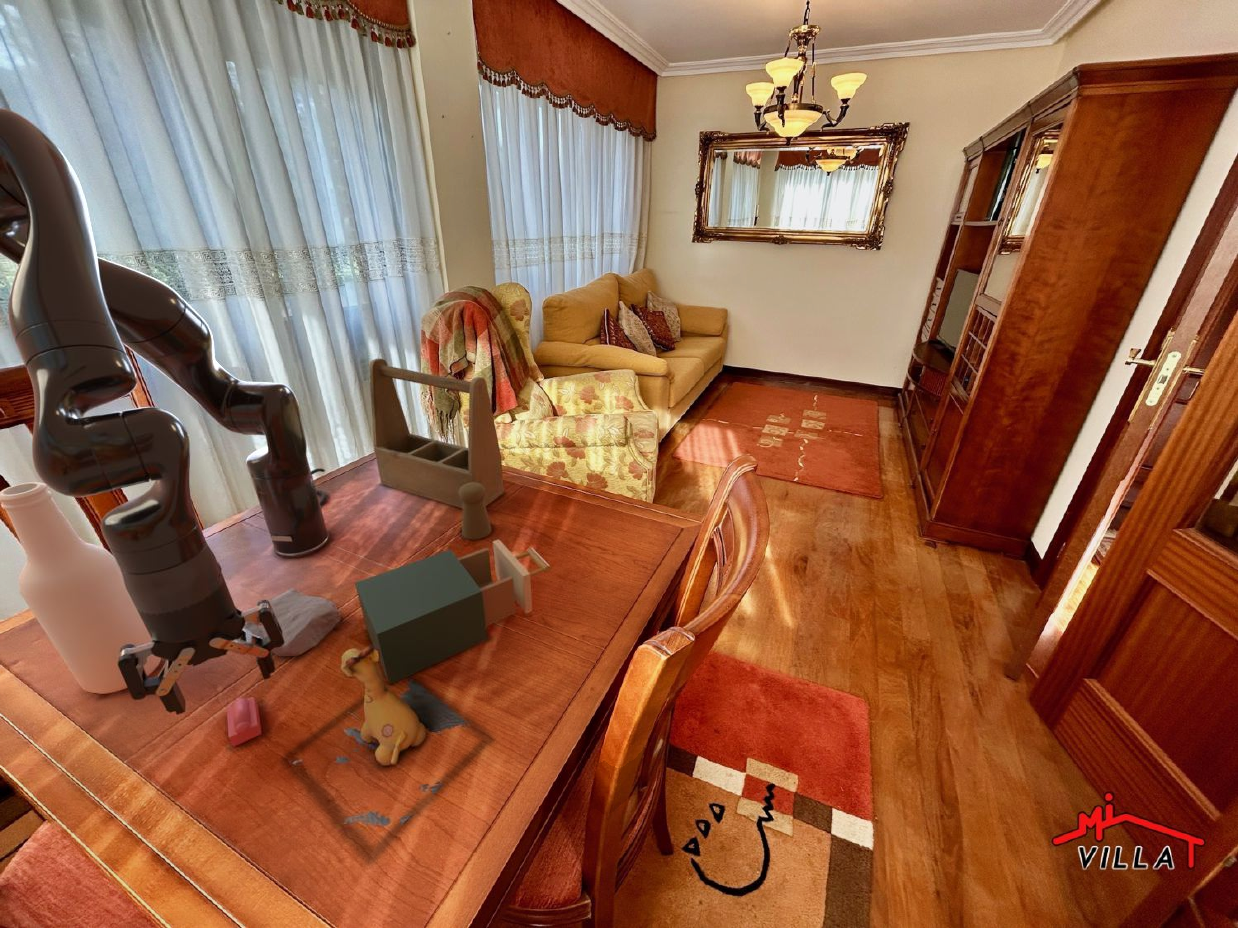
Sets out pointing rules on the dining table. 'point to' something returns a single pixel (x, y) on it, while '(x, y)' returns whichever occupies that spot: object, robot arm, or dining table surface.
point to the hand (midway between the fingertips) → (226, 690)
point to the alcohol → (74, 591)
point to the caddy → (433, 441)
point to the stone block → (299, 621)
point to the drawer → (503, 580)
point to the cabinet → (422, 613)
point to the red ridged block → (243, 720)
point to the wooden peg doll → (474, 511)
